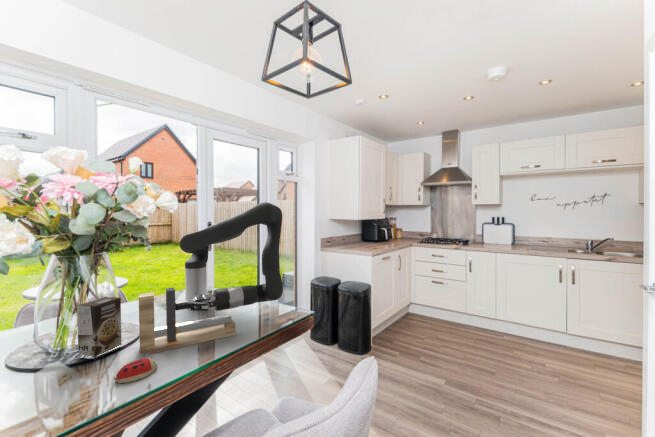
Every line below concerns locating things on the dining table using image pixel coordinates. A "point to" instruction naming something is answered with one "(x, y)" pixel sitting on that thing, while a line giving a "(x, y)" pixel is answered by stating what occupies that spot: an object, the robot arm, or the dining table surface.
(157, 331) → the silver metal bar
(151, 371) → the ladybug figurine
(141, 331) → the wooden track with post
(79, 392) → the dining table surface
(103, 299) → the coffee box
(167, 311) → the dark gray slab
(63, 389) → the dining table surface
